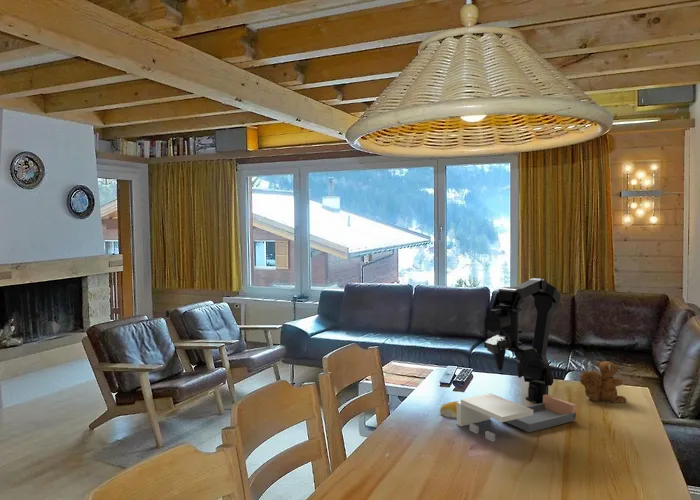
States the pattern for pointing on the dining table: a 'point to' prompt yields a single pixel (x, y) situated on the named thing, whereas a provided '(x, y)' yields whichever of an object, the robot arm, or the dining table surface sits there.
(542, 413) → the tray
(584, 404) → the dining table surface
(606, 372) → the stuffed squirrel
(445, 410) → the bread roll
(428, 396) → the dining table surface
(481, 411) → the overhang shelf
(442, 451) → the dining table surface
